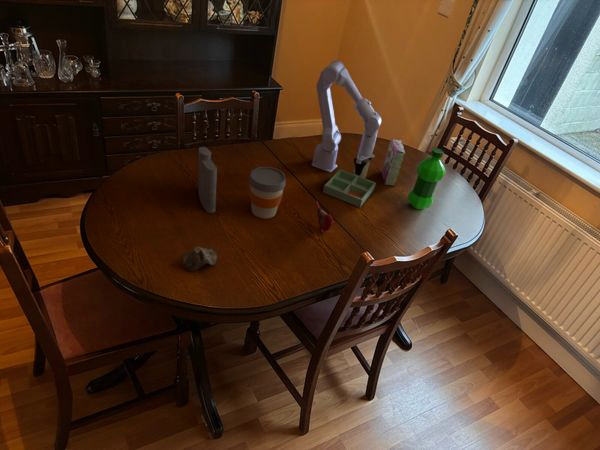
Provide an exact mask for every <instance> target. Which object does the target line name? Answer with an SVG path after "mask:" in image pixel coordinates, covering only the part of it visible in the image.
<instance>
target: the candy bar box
mask: <svg viewBox="0 0 600 450" xmlns="http://www.w3.org/2000/svg"><path fill="white" fill-rule="evenodd" d="M404 147H405V146H404V144H403V141H402V140H400V139H399V140H398V139H393V138H391V139H390V140H389V144H388V148H387V152H386V156H385V158H384V162H383V165H382V169H381V175H382V179H383V183H384V186H391V187H392V186H393V187H395V186H396V184H397V180H398V178H399V174H400V170H401V169H402V164H403V161H404V158H405V155H406V151H405V148H404Z"/></svg>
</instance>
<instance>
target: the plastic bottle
mask: <svg viewBox="0 0 600 450" xmlns="http://www.w3.org/2000/svg"><path fill="white" fill-rule="evenodd" d="M444 153H445V151H444V150H443V149H441V148H438V147H434V148H432V150H431V153H430V155H431V156H430V157H427V158H424V159H422V160H421V161H420V162H419V164H418V165H417V167H416V173H417V176H416V177H417V178H416V181H415V183H414V186H413V188H412V190H411V191H410V192H409V193H408V196H407V197H408V198H407V199H408V202H409V203H410V205H411V206H412V208H414V209H416V210H424V209H428V208H430V207H431V205H432V204H433V202H434V193H435V190H436V187H437V185H438V183H439V182H440V181H442V179H443V178H444V176H445V174H446V167H445V165H444V164H443V162H442V160H441V158H443V156H444Z"/></svg>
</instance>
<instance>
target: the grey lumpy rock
mask: <svg viewBox="0 0 600 450" xmlns="http://www.w3.org/2000/svg"><path fill="white" fill-rule="evenodd" d="M182 257H183V258H182V265H183V267H184V268H186V270H188V271H190V272H197V271H199V270H200V269H201V268H203V266H208V267H213V266H214V265H216V264H217V260H218V255H217V252H216V251H215V250H214V249H213V248H212V246H205V247H204V246H203V247H201V246H198V245H197V246H195V247H193V249H192V250H190V251H188V252H185V253H183V254H182Z"/></svg>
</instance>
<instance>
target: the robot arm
mask: <svg viewBox="0 0 600 450" xmlns="http://www.w3.org/2000/svg"><path fill="white" fill-rule="evenodd" d="M335 82H336V83H335ZM334 83H335V86H339V87H343V88H344V90H345V91H346V93H347V94H348V95H349V97H350V98H351V99H352V101H353V102H354V109H355V111H356V112H357V114H358V115H359V117H360V118H361V120H362V121H363V127H364V130H363V132H362V136H361V140H360V144H359V148H358V150H357V156H356V157H354V159H353V163H354V164H353V165H354V167H355V174H356V175H359V176H360V175H361V173H362V170H363V168H364V167H365V165H366V164H367V163H366V162H364V161H363V160H365V159H369V161H370V162H371V161H372V159H374V158H375V154H373V152H374V149H375V146H376V141H377V137H378V133H379V129H380V127H381V125H382V122H383V121H382V116H381V115H380V114H379V113H378V112H377V111H375V110H374V108H373V106H372V105H371V104H372V101H370V100H368V99H367V98H365V97H363V96H362V95H361V93H360V91H359V89H358V88H357V85H356V84H355V82H354V81H353V79H352V77H351V75H350V73H349V71H348V69H347V68H346V67H345V65H344V63H343V62H342V61H340V60H336V59H335V60H333V61H331V62H330V63H329V65H327V66H325V68H324V69H322V70H321V72H320V74H319V78H318V80H317V81H316V85H315V86H316V87H315V88H316V93H317V98H318V105H319V111H320V118H321V123H322V133H321V138H322V139H321V143H318V144H317V145H316V147H315V149H314V152H313V157H312V163H311V166H312V167H314V168H317V169H320V170H322V171H325V172H327V173H332V172H333V171H334V170H335V169H336V168H338V165H339V164H336V161H337V157H338V153H339V144H340V142H341V141H342V135H341V133H340V131H339V127H338V126H337V124H336V119H335V113H334V112H335V111H334V107H333V99H332V92H331V86H333V84H334Z"/></svg>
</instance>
